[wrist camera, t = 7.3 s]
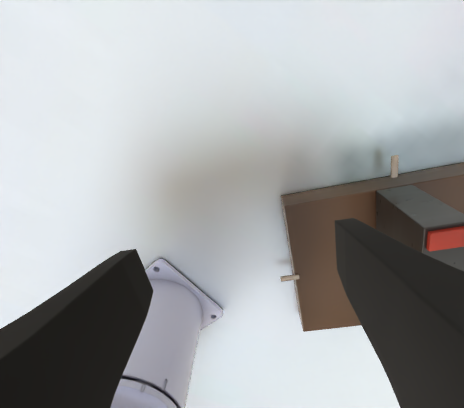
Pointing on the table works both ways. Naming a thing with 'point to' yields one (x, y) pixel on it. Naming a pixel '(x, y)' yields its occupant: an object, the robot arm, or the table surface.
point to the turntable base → (323, 235)
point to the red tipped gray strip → (422, 223)
